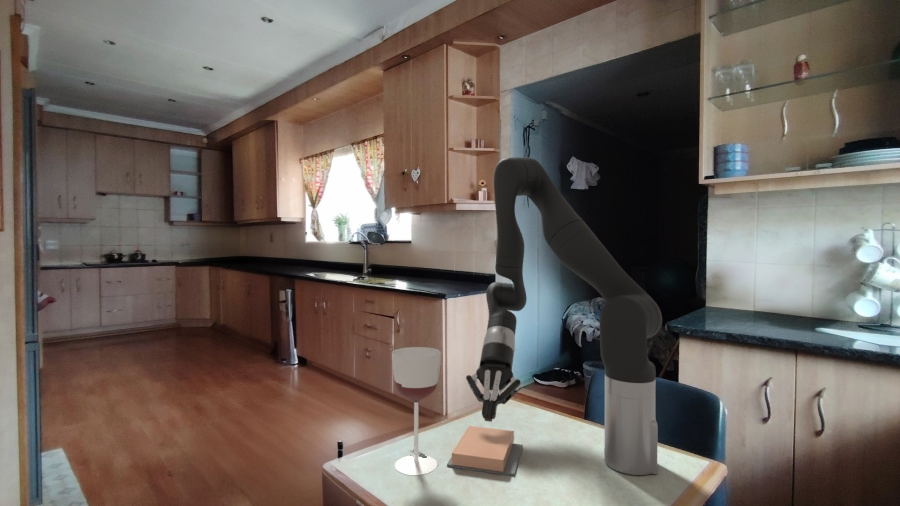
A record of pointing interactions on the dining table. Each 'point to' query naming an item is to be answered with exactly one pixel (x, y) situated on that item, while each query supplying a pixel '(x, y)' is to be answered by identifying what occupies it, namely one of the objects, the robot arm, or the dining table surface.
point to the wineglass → (416, 395)
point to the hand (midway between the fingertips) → (488, 419)
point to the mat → (510, 464)
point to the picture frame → (483, 448)
